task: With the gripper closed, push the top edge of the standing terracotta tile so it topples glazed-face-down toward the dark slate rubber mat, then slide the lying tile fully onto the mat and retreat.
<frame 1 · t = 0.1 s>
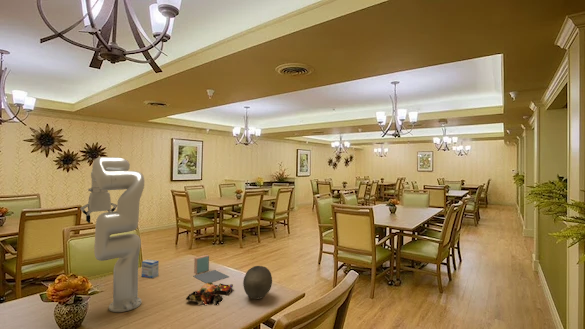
hand: (99, 221, 161), 31 cm above the table, fingers open, 9 cm apart
dark round vase: (257, 298, 139), on the table
mat: (211, 276, 165), on the table
tile: (201, 271, 172), on the table
medicine box: (149, 276, 164), on the table
food: (210, 296, 141), on the table
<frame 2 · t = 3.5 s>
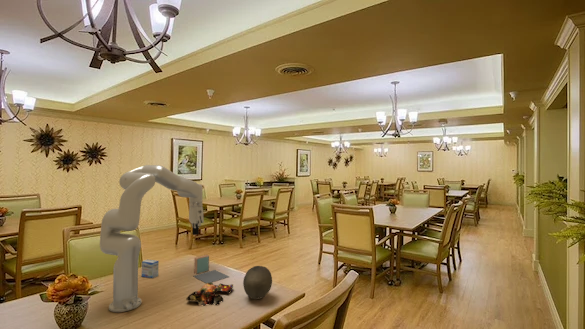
hand: (195, 234, 178), 21 cm above the table, fingers closed
nothing on the table moved.
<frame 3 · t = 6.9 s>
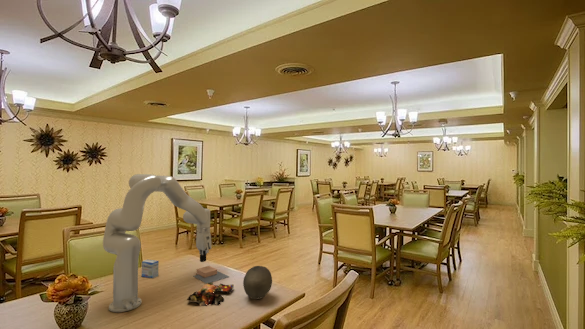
hand: (203, 261, 171), 7 cm above the table, fingers closed
tile: (202, 269, 171), point 2 cm above the table, tilted 90°, touching mat
everything else where it was.
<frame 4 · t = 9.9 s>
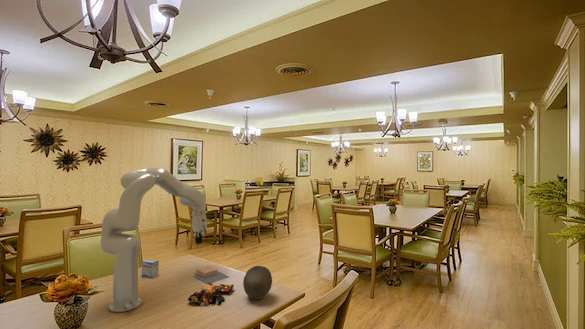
hand: (198, 243, 175), 16 cm above the table, fingers closed
nothing on the table moved.
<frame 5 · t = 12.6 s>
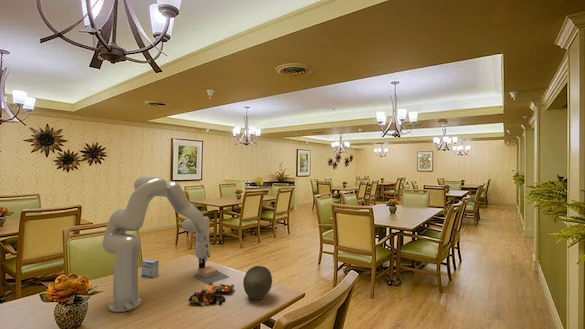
hand: (202, 268, 172), 2 cm above the table, fingers closed
tile: (203, 269, 171), point 2 cm above the table, tilted 90°, touching gripper, mat
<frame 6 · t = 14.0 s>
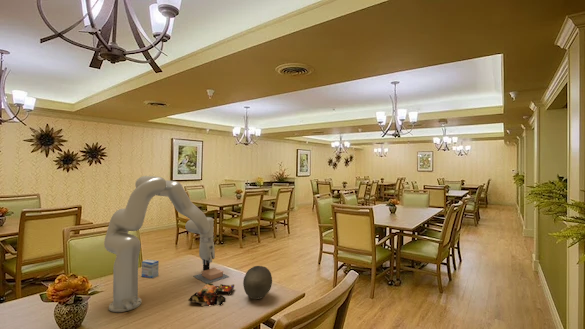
hand: (206, 270, 169), 2 cm above the table, fingers closed
tile: (208, 271, 168), point 2 cm above the table, tilted 90°, touching gripper, mat
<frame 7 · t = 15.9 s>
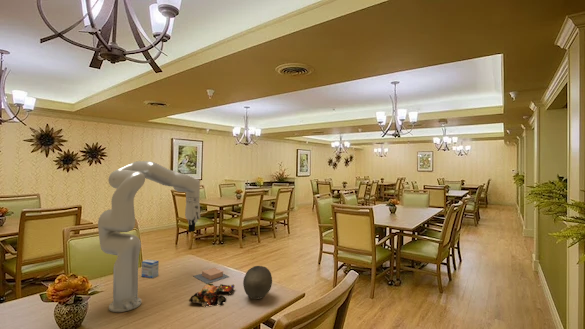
hand: (191, 231, 171), 24 cm above the table, fingers closed
tile: (208, 271, 168), point 2 cm above the table, tilted 90°, touching mat
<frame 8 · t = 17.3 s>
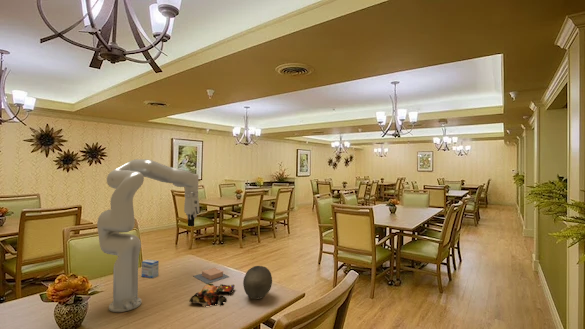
hand: (191, 225, 171), 27 cm above the table, fingers closed
at the end: tile tilted 90°; tile inside the target area on the mat (3.8 cm from its centre), point 1.6 cm above the mat's base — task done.
